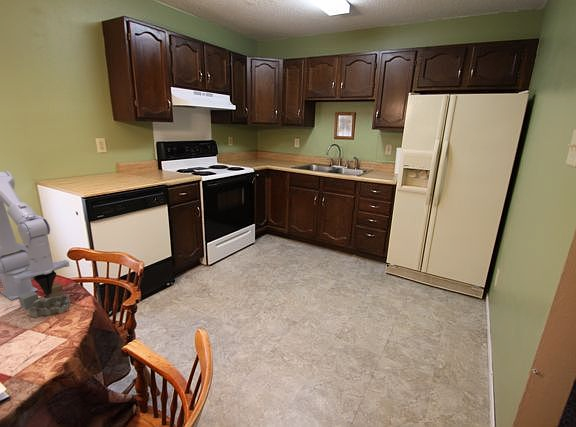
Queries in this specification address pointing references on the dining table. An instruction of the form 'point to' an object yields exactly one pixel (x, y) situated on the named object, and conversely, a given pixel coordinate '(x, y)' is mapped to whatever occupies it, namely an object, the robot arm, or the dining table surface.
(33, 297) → the slate-grey block
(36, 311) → the grey piece
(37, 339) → the dining table surface
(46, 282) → the robot arm
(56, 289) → the walnut block
